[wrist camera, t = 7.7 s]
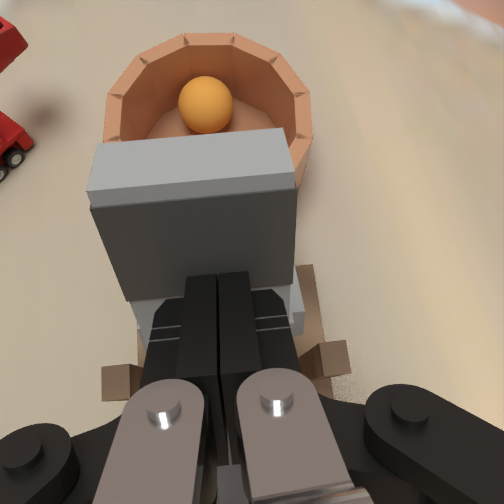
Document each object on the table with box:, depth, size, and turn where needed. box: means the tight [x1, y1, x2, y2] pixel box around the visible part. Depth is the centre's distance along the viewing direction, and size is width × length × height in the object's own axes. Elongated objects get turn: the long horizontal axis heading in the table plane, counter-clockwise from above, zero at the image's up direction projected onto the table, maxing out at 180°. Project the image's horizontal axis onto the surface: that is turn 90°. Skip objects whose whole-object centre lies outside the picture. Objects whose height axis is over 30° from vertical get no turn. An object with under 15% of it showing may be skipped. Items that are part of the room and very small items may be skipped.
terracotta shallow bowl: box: [103, 33, 313, 188], centre depth 31 cm, size 13×13×6 cm
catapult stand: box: [102, 264, 351, 401], centre depth 23 cm, size 14×12×14 cm
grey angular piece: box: [86, 127, 305, 504], centre depth 16 cm, size 18×6×13 cm, turn 6°
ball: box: [178, 76, 233, 134], centre depth 33 cm, size 4×4×4 cm
